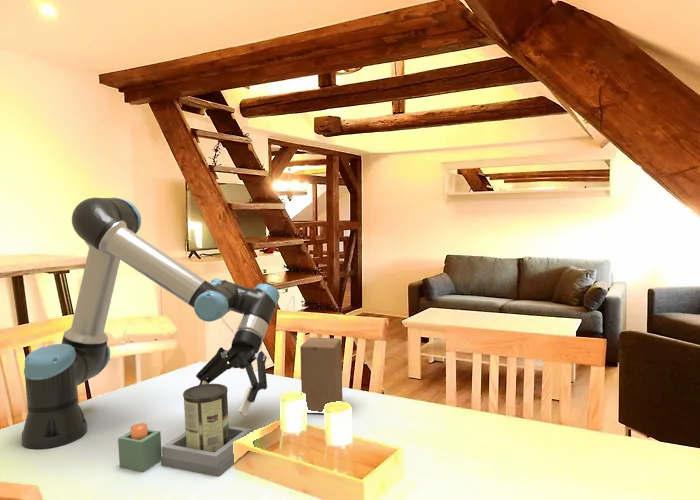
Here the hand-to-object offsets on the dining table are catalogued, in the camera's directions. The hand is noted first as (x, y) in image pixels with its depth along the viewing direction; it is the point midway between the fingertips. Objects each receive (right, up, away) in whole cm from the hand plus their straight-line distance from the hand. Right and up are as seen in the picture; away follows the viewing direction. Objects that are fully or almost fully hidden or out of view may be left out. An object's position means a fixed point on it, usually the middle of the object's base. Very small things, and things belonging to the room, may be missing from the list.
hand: (218, 410), depth 128 cm
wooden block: (+24, -7, +26) cm, 36 cm away
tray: (-2, -10, -3) cm, 11 cm away
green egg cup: (-17, -11, -6) cm, 21 cm away
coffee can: (-2, -8, -3) cm, 9 cm away
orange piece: (-17, -7, -6) cm, 19 cm away
